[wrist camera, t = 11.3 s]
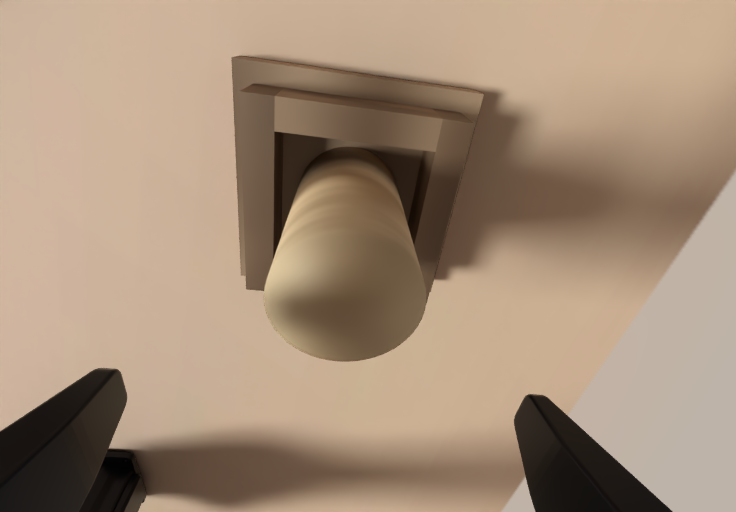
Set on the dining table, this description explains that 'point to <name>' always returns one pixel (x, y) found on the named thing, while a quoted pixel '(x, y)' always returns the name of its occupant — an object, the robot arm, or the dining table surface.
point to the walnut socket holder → (344, 129)
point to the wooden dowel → (345, 262)
